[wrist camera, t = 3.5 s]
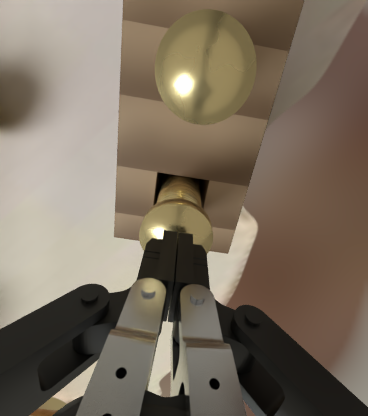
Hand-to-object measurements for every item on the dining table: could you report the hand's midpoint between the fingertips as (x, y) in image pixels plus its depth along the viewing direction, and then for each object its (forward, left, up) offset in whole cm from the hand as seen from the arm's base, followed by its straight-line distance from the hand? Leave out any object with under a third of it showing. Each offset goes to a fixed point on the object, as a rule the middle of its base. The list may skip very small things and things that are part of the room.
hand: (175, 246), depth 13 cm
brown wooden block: (-4, 0, -16) cm, 16 cm away
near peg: (-8, 0, -10) cm, 13 cm away
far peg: (0, 0, -10) cm, 10 cm away
